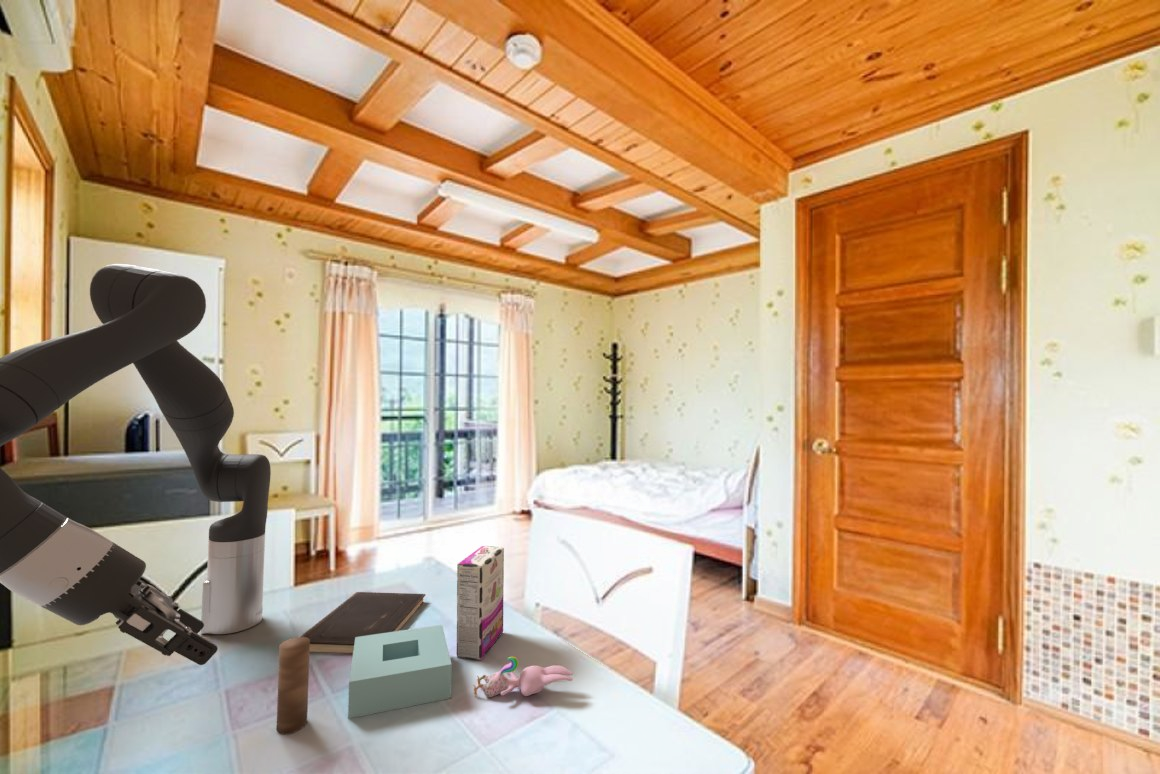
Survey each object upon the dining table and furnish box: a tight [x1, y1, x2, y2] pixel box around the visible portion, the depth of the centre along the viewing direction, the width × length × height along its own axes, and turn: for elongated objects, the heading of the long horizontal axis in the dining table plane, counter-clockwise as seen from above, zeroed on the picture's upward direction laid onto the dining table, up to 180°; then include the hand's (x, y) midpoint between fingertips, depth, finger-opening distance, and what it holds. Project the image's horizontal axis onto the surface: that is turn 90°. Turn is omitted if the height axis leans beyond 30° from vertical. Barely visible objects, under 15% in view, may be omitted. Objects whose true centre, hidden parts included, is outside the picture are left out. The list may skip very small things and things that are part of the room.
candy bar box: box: [456, 545, 505, 661], centre depth 90 cm, size 11×5×16 cm, turn 168°
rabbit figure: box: [473, 656, 574, 698], centre depth 75 cm, size 6×6×15 cm
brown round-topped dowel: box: [276, 636, 311, 735], centre depth 67 cm, size 4×4×11 cm
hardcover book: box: [299, 591, 426, 654], centre depth 98 cm, size 16×23×2 cm
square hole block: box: [347, 624, 453, 719], centre depth 78 cm, size 14×14×5 cm
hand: (203, 643), depth 60 cm, fingers open, 8 cm apart
